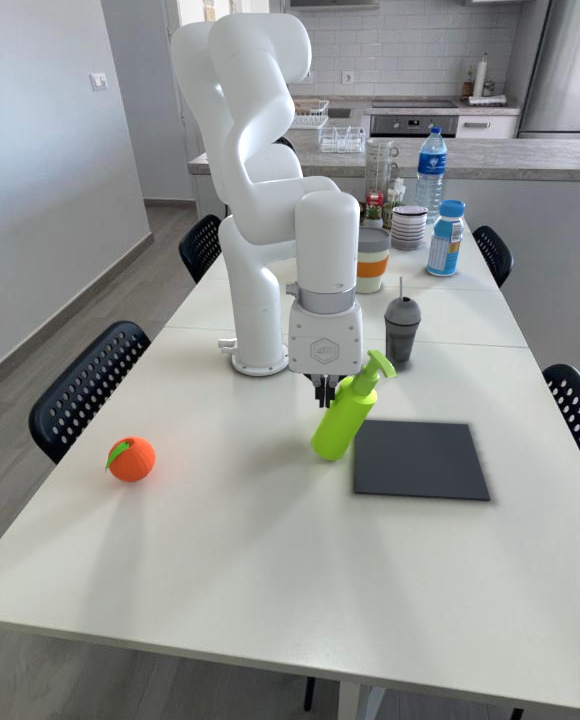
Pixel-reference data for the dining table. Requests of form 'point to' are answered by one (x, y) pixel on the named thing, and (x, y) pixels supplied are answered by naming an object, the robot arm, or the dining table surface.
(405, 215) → the white striped cylinder
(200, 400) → the dining table surface
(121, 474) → the clementine
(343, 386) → the soap dispenser
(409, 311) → the beverage cup
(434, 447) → the placemat
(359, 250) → the reusable coffee cup
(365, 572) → the dining table surface
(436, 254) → the beverage bottle
